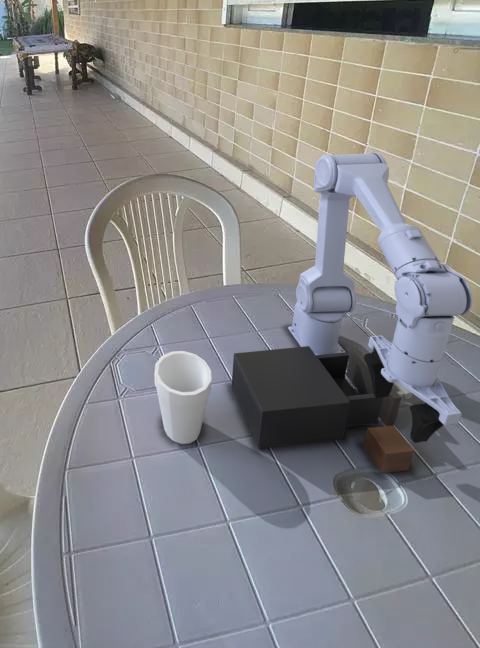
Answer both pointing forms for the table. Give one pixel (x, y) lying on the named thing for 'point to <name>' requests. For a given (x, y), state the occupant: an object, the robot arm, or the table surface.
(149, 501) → the table surface
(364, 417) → the sliding drawer
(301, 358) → the black drawer box
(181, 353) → the foam cup
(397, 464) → the block
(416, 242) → the robot arm
